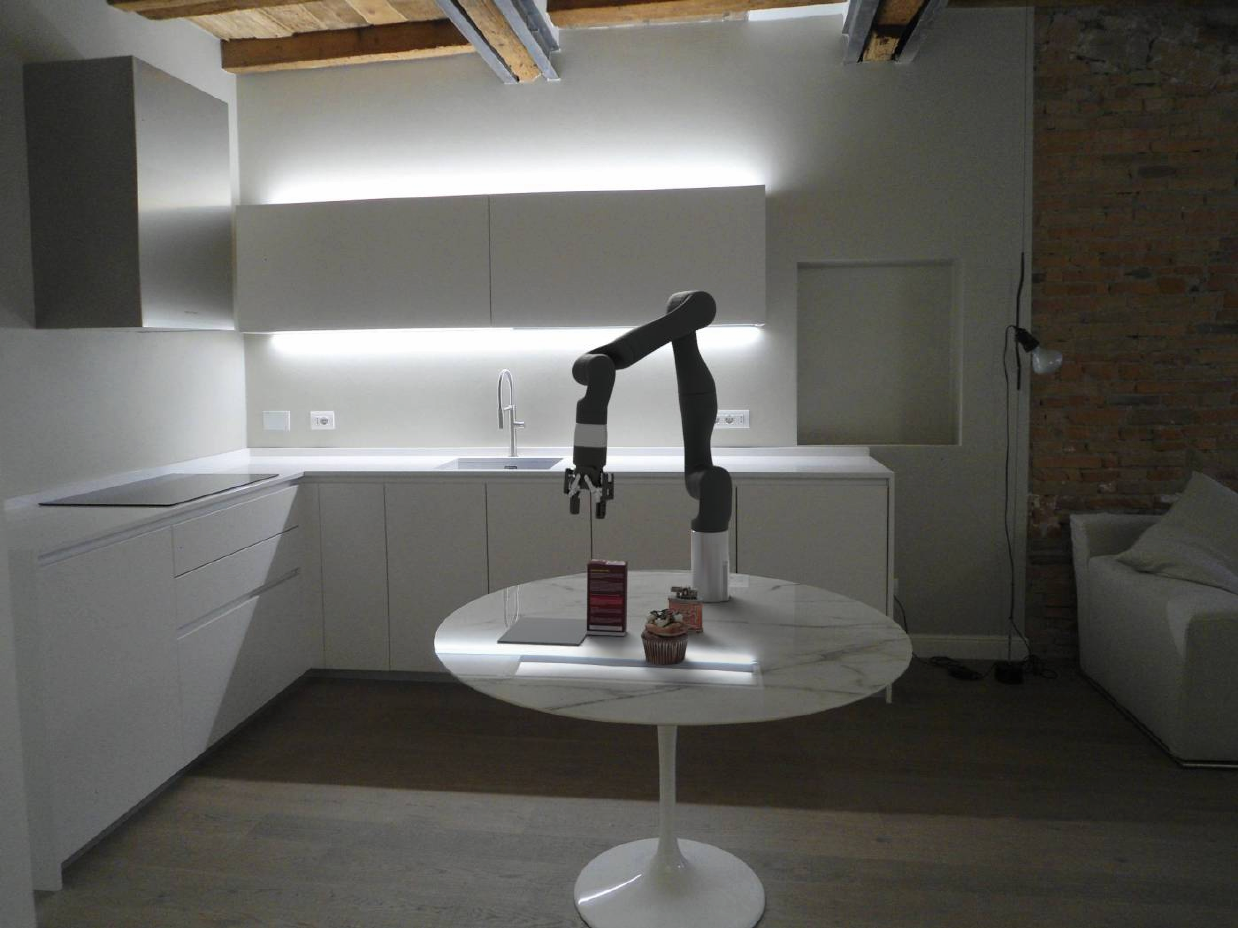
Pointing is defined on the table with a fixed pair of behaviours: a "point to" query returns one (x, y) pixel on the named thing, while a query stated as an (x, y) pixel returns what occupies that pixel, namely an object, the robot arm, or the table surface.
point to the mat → (546, 631)
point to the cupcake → (665, 638)
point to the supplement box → (607, 597)
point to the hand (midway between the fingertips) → (587, 516)
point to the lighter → (687, 607)
